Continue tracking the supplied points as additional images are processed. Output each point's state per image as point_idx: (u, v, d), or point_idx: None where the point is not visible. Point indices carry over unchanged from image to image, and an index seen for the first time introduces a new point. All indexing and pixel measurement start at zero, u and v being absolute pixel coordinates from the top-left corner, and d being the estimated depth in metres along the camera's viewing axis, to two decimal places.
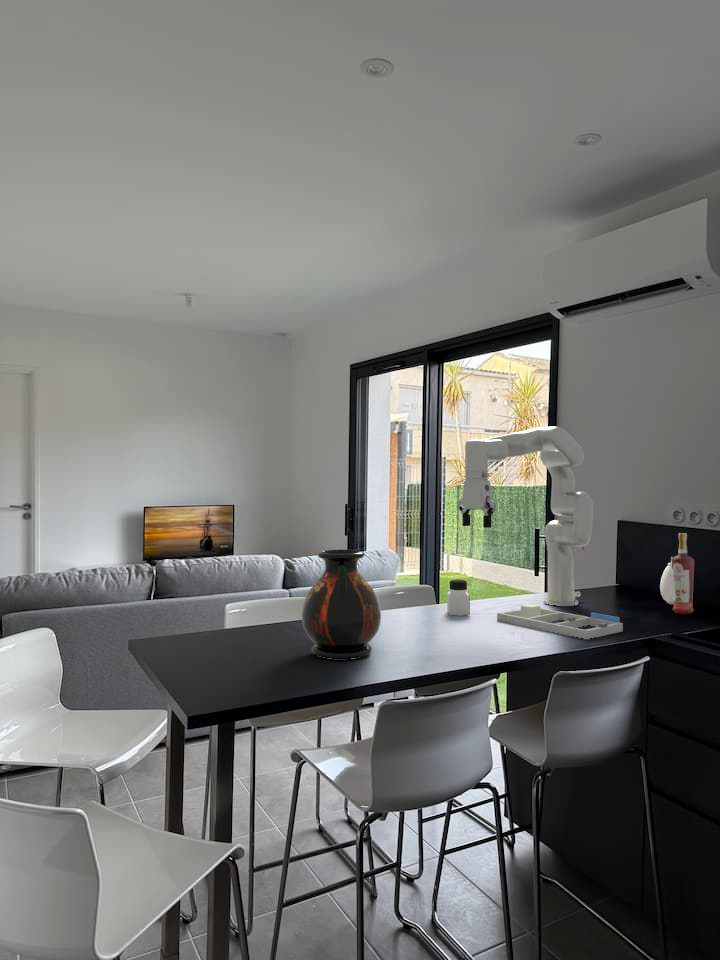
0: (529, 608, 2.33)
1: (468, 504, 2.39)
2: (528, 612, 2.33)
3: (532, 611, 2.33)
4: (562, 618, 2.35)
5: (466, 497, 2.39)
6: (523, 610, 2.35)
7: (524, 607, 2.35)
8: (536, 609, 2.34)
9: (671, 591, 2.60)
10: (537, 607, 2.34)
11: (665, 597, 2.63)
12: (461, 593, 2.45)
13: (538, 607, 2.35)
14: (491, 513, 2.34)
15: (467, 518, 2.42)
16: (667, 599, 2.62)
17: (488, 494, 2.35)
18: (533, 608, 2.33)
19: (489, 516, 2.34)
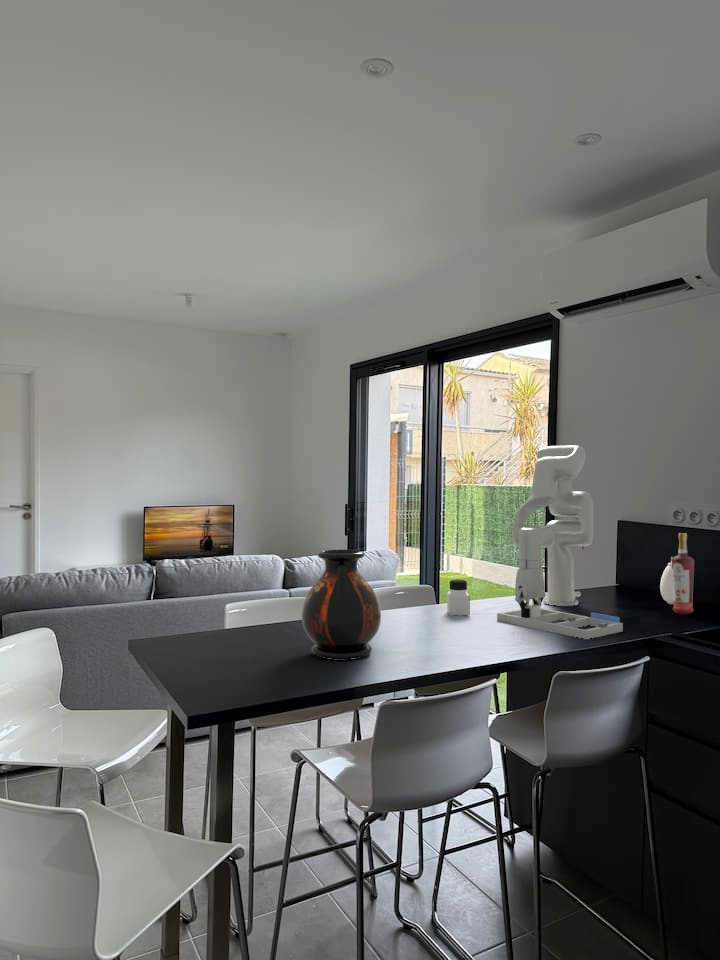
0: (529, 608, 2.33)
1: (532, 594, 2.33)
2: None
3: (532, 611, 2.33)
4: (562, 618, 2.35)
5: (531, 587, 2.32)
6: None
7: None
8: (536, 609, 2.34)
9: (671, 591, 2.60)
10: (537, 607, 2.34)
11: (665, 597, 2.63)
12: (461, 593, 2.45)
13: (538, 607, 2.35)
14: None
15: None
16: (667, 599, 2.62)
17: None
18: (533, 608, 2.33)
19: None
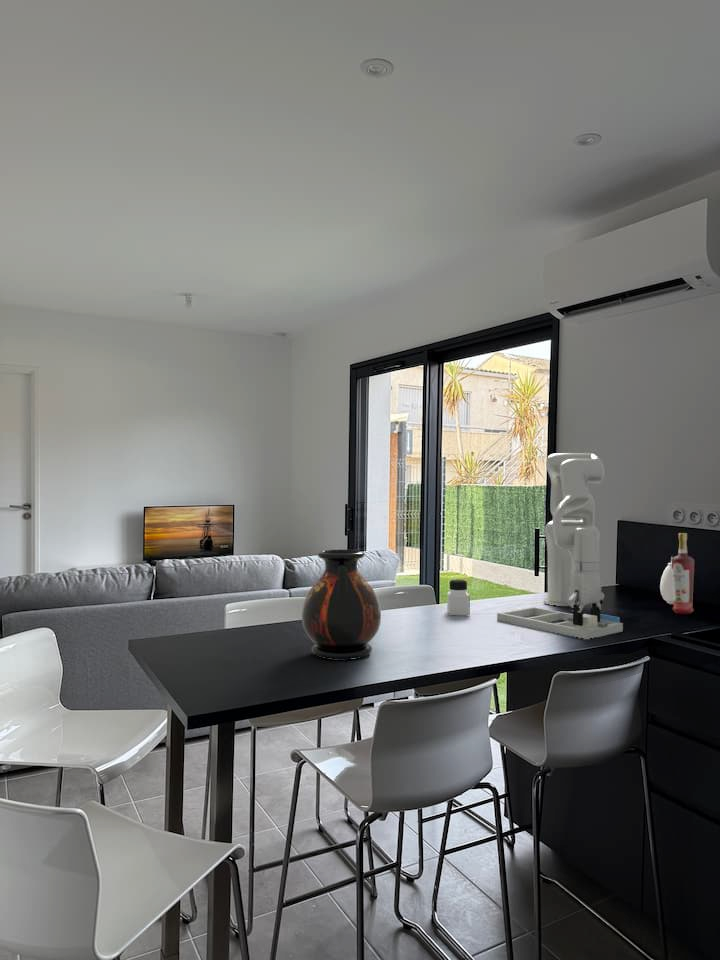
0: (586, 619, 2.16)
1: (589, 599, 2.15)
2: (584, 623, 2.16)
3: (589, 622, 2.15)
4: (562, 618, 2.35)
5: (588, 592, 2.15)
6: None
7: None
8: (593, 620, 2.16)
9: (671, 591, 2.60)
10: (594, 617, 2.17)
11: (665, 597, 2.63)
12: (461, 593, 2.45)
13: (595, 617, 2.17)
14: None
15: None
16: (667, 599, 2.62)
17: None
18: (590, 619, 2.15)
19: None
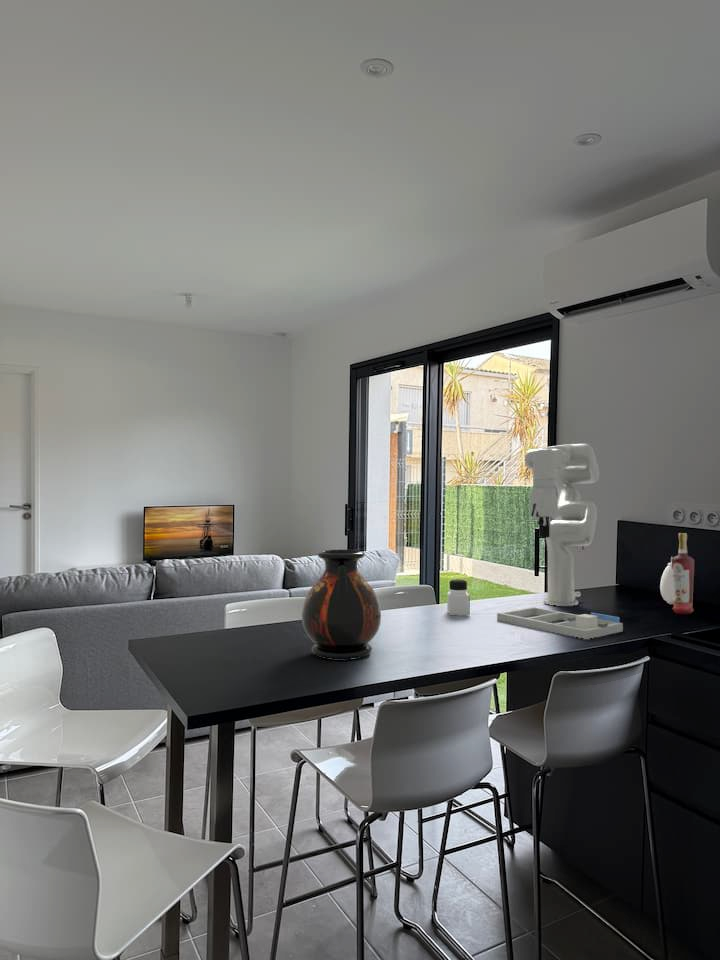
0: (586, 619, 2.16)
1: (546, 512, 2.42)
2: (584, 623, 2.16)
3: (589, 622, 2.15)
4: (562, 618, 2.35)
5: (544, 505, 2.41)
6: (579, 621, 2.17)
7: (580, 617, 2.17)
8: (593, 620, 2.16)
9: (671, 591, 2.60)
10: (594, 617, 2.17)
11: (665, 597, 2.63)
12: (461, 593, 2.45)
13: (595, 617, 2.17)
14: None
15: None
16: (667, 599, 2.62)
17: None
18: (590, 619, 2.15)
19: None
